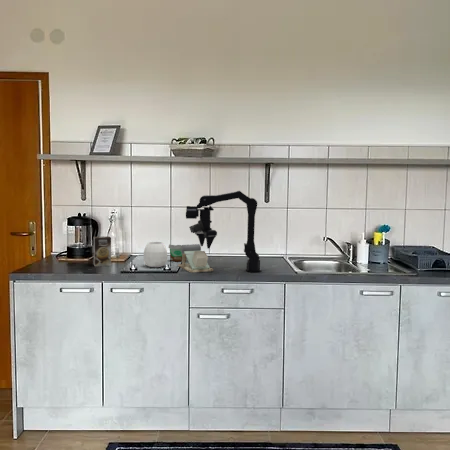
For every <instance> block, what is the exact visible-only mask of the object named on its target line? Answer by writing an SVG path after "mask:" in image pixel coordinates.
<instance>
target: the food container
mask: <svg viewBox="0 0 450 450" xmlns="http://www.w3.org/2000/svg"><path fill="white" fill-rule="evenodd" d="M182 245H183V244H177V245H175V244H170V243H169V244H168V247H167V248H168V249H169V257H170V261H171V262H174V263H182V251H181V246H182ZM185 262H187V258H186V259H185Z"/></svg>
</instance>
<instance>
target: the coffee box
mask: <svg viewBox="0 0 450 450" xmlns="http://www.w3.org/2000/svg"><path fill="white" fill-rule="evenodd" d="M93 266H94V267H111V266H112V237H110V236H93Z"/></svg>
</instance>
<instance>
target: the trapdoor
mask: <svg viewBox="0 0 450 450" xmlns="http://www.w3.org/2000/svg"><path fill="white" fill-rule="evenodd" d="M181 245H182V246H181V251H182V254H186V261H188V264H190V266H191V268H192V270H199V269H210V268H211V267H210V265H209V263H208V262H207V264H206V266H204V267H195V265H194V263H193V261H192V259H193V255H194V251H202V246H201V245H200V243H196V244H195V243H194V244H193V243H192V244H181Z"/></svg>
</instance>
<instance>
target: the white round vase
mask: <svg viewBox="0 0 450 450" xmlns="http://www.w3.org/2000/svg"><path fill="white" fill-rule="evenodd" d="M167 261H168V250H167V248H166V245H165V243H164V242H162V241H148V242H147V244H146V245H145V247H144V249H143V262H144V264H145V266H146V267H150V268H162V267H164V266H165V265H166V264H167Z"/></svg>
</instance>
